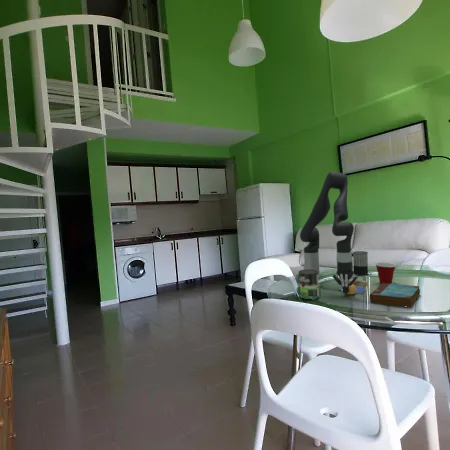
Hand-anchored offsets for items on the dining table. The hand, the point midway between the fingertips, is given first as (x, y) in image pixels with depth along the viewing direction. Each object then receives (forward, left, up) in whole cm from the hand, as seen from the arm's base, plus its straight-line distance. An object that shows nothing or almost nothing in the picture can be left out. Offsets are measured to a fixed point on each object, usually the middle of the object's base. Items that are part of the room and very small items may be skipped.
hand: (345, 293), depth 170 cm
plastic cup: (+14, +31, -2) cm, 34 cm away
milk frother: (-7, +47, -2) cm, 48 cm away
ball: (+1, +4, +1) cm, 4 cm away
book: (+23, +5, -3) cm, 23 cm away
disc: (0, +13, -2) cm, 13 cm away
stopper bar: (0, +24, -2) cm, 24 cm away
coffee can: (-16, -9, -2) cm, 19 cm away
